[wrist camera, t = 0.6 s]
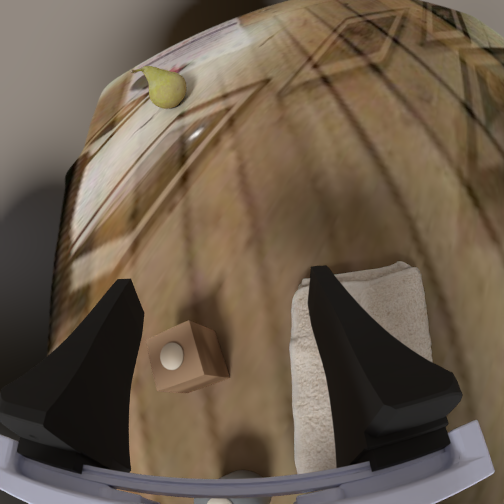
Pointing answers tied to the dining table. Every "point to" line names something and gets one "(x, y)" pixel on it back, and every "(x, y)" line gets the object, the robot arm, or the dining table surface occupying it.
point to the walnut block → (186, 358)
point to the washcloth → (309, 361)
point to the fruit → (164, 86)
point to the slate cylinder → (236, 503)
